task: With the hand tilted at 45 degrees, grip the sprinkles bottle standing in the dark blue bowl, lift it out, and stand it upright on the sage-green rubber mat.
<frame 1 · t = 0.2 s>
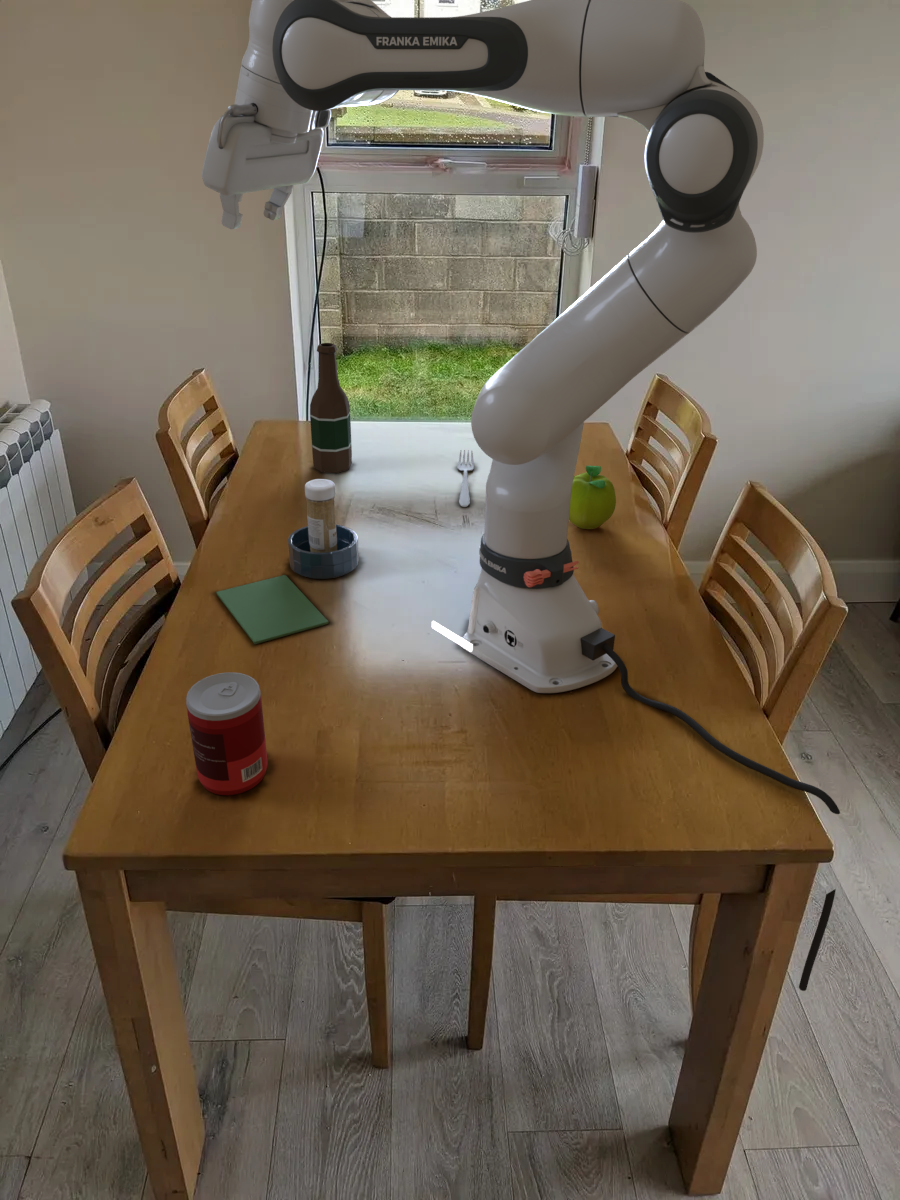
hand: (251, 222, 115), 52 cm above the table, tool tilted 20°, fingers open, 8 cm apart
fruit: (585, 526, 161), on the table
canned food: (233, 774, 103), on the table
sprinkles bottle: (324, 563, 147), resting on dark blue bowl
dark blue bowl: (324, 563, 147), on the table
green mat: (271, 608, 134), on the table
fork: (465, 482, 177), on the table
beer bottle: (332, 467, 182), on the table
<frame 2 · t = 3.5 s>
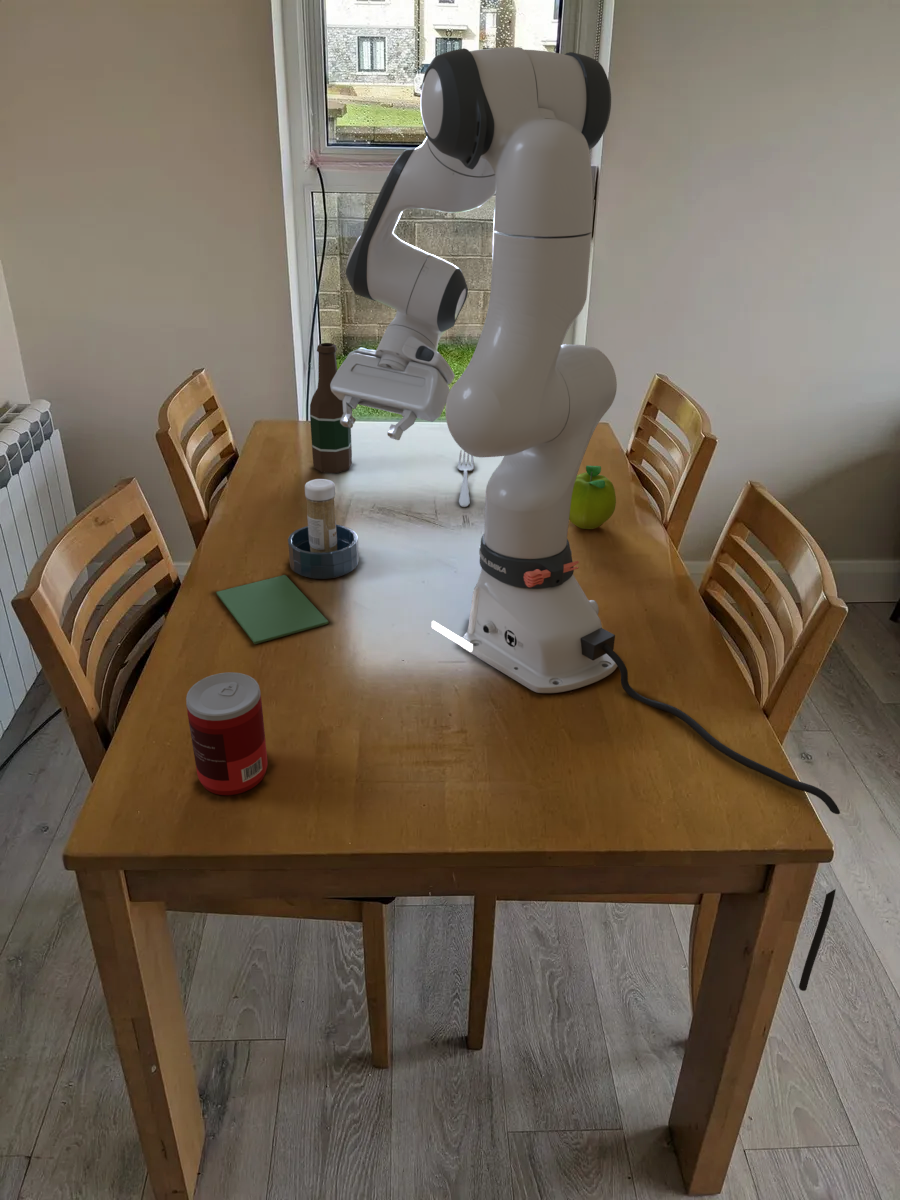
hand: (368, 431, 146), 18 cm above the table, tool tilted 45°, fingers open, 8 cm apart
nothing on the table moved.
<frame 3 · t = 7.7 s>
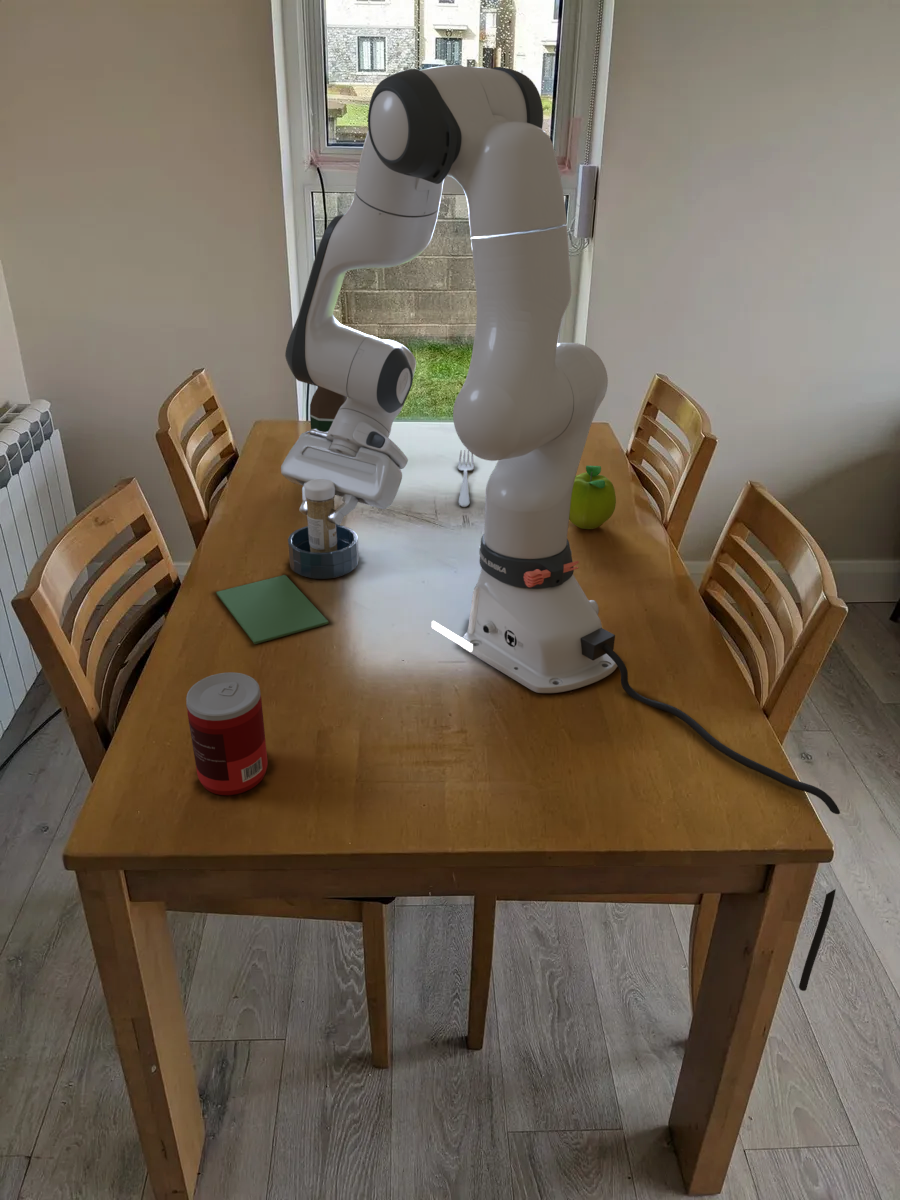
hand: (319, 518, 142), 8 cm above the table, tool tilted 45°, fingers closed on sprinkles bottle, 4 cm apart
sprinkles bottle: (324, 563, 146), resting on dark blue bowl, touching gripper
everything else where it was.
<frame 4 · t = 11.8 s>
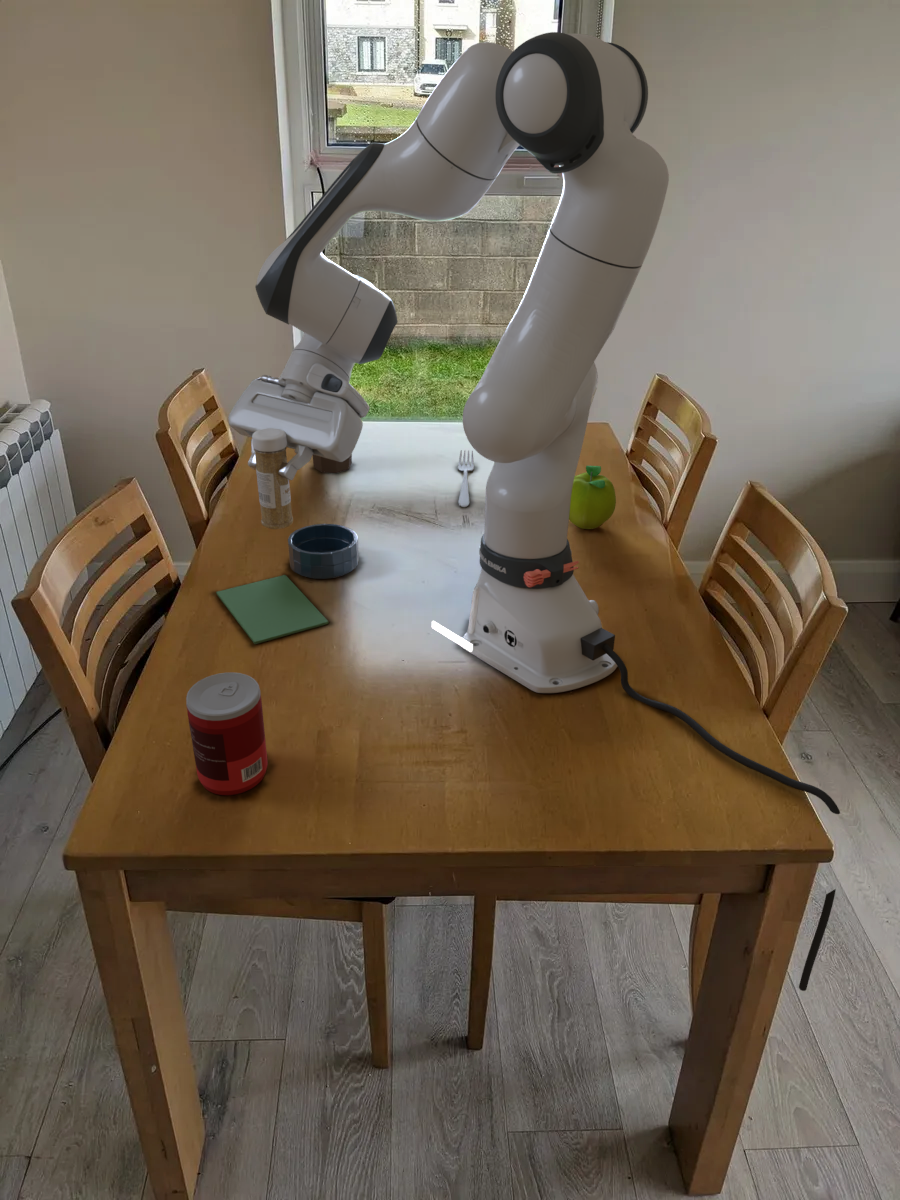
hand: (269, 473, 126), 20 cm above the table, tool tilted 45°, fingers closed on sprinkles bottle, 4 cm apart
sprinkles bottle: (277, 524, 131), point 12 cm above the table, touching gripper
everything else where it was.
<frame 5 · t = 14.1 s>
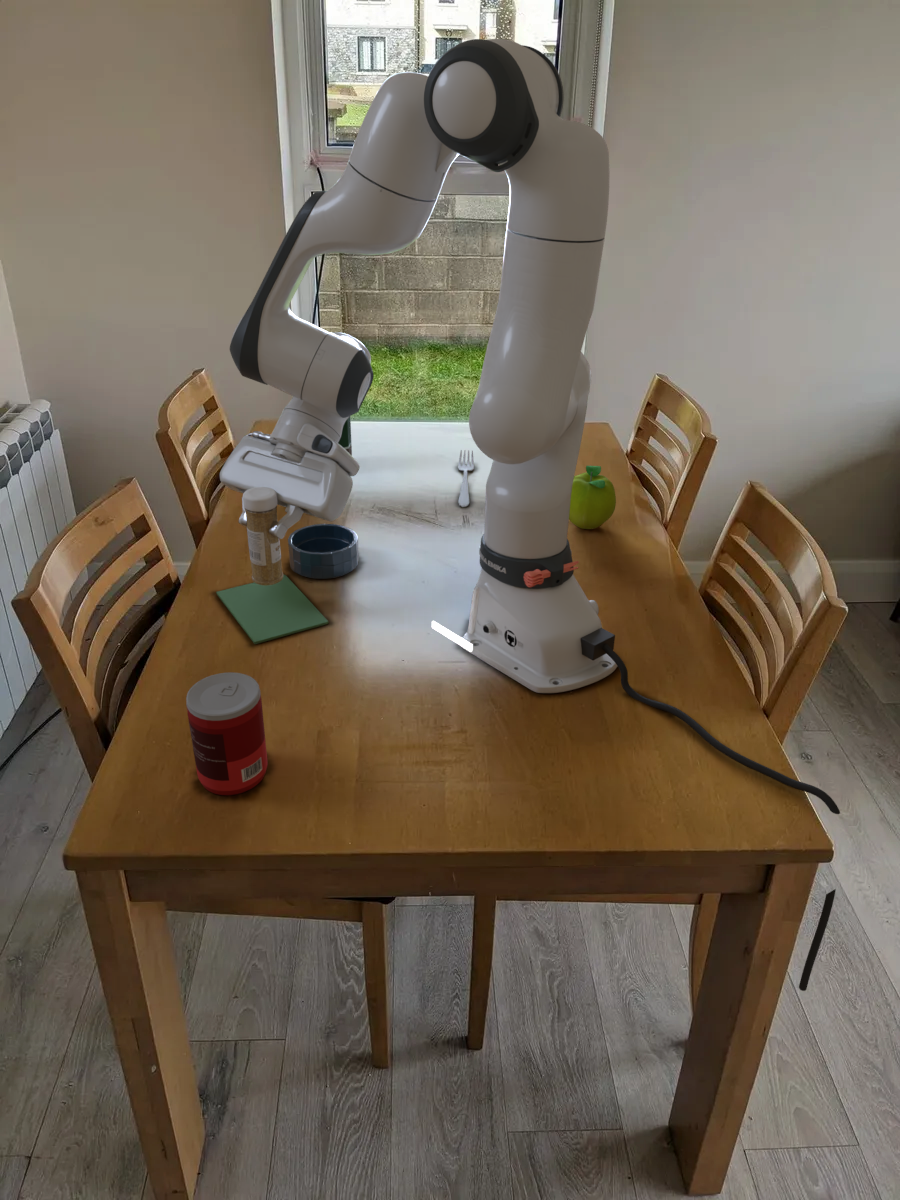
hand: (260, 531, 127), 13 cm above the table, tool tilted 45°, fingers closed on sprinkles bottle, 4 cm apart
sprinkles bottle: (267, 580, 132), point 5 cm above the table, touching gripper
everything else where it was.
when the fingers open (8 cm above the table, at t = 15.8 s): sprinkles bottle stays where it is, resting on green mat.
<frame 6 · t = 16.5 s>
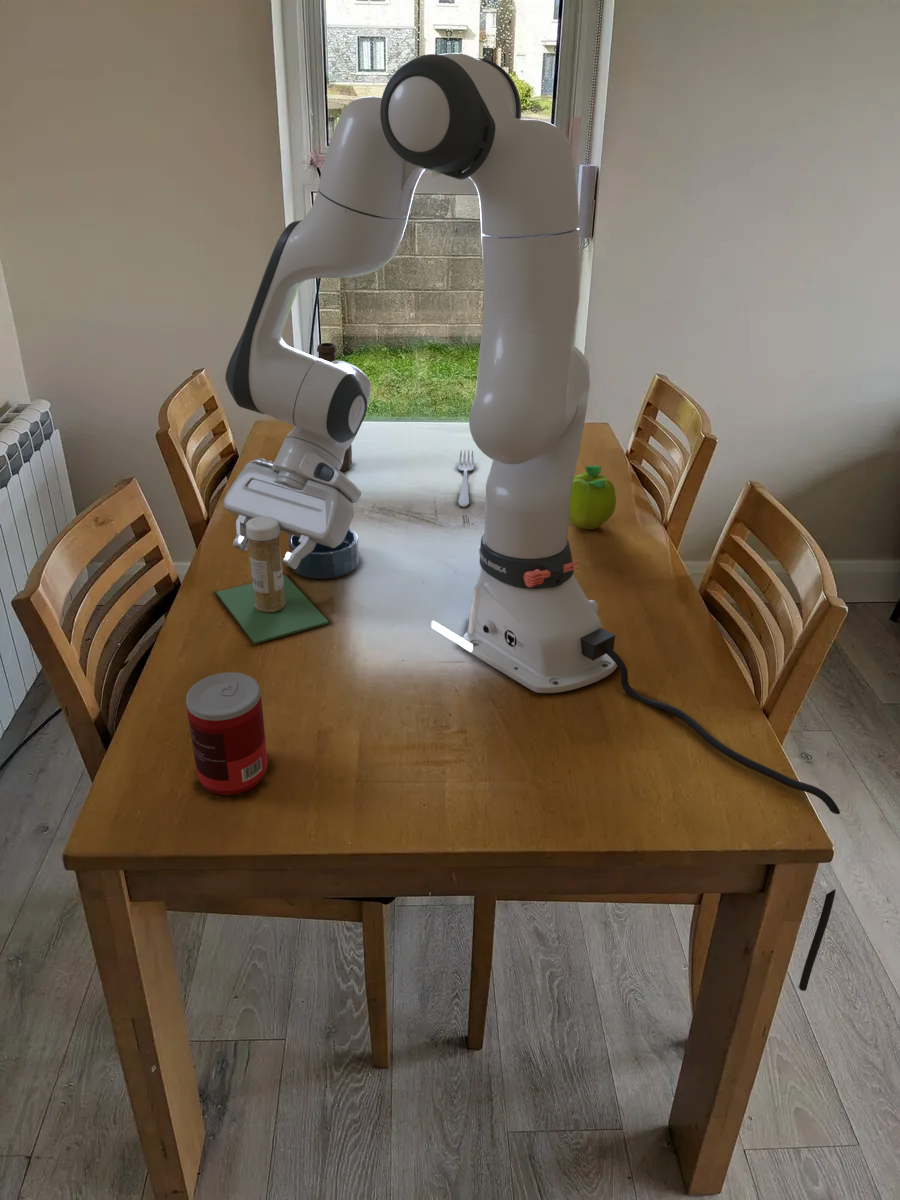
hand: (263, 557, 129), 9 cm above the table, tool tilted 45°, fingers open, 8 cm apart
sprinkles bottle: (270, 607, 134), resting on green mat
everything else where it was.
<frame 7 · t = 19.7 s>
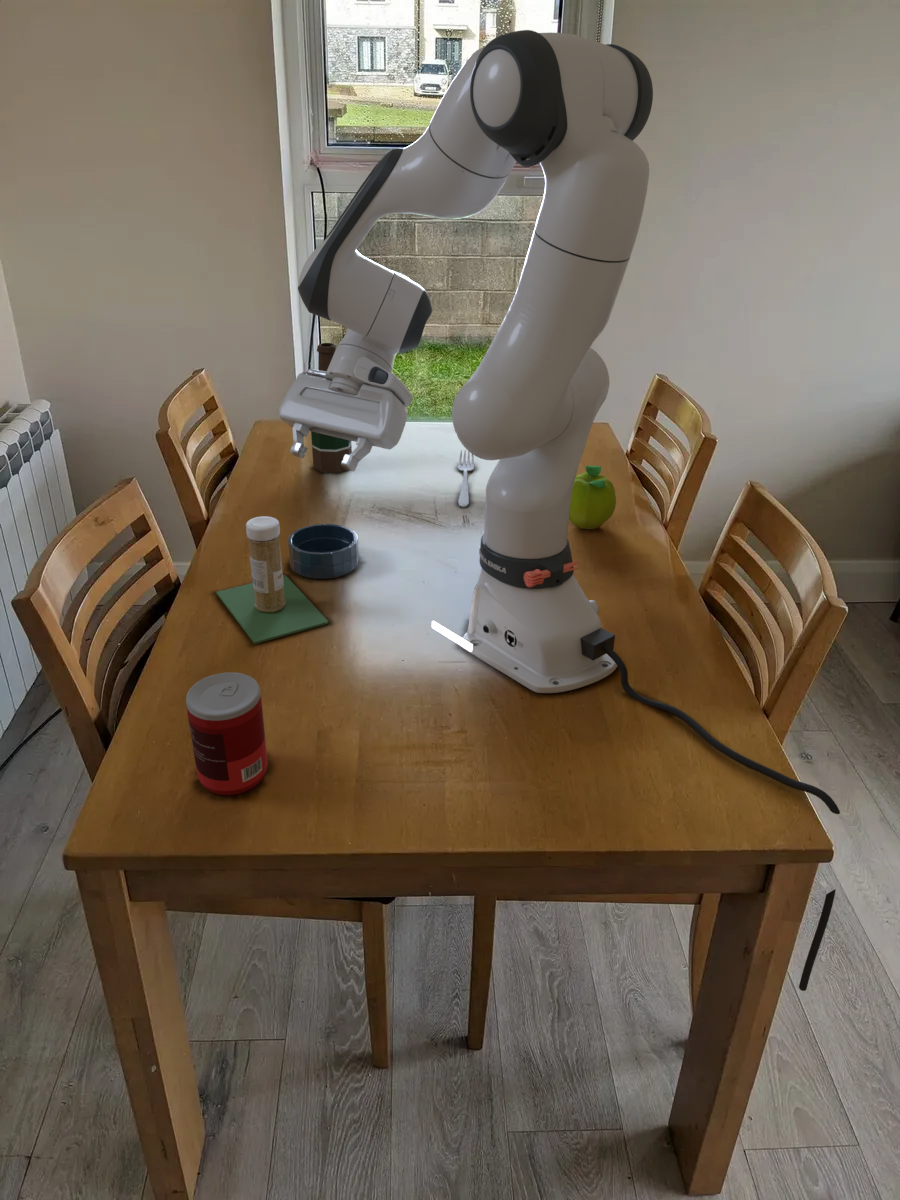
hand: (321, 462, 134), 19 cm above the table, tool tilted 45°, fingers open, 8 cm apart
nothing on the table moved.
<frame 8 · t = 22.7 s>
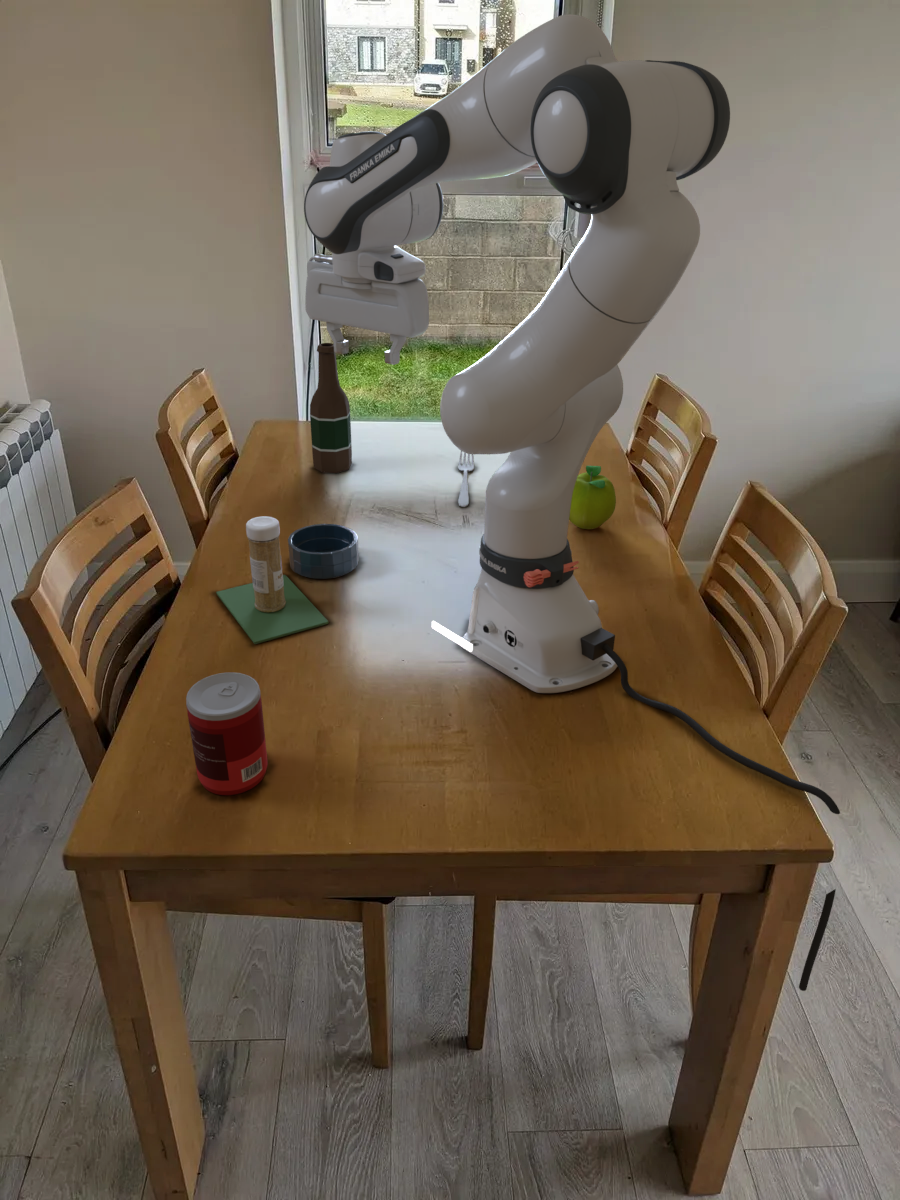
hand: (366, 358, 137), 31 cm above the table, tool pointing down, fingers open, 8 cm apart
nothing on the table moved.
at the end: sprinkles bottle inside the target area on the green mat (0.1 cm from its centre), point 0.2 cm above the green mat's base; sprinkles bottle tilted 0°; the gripper is holding nothing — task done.
